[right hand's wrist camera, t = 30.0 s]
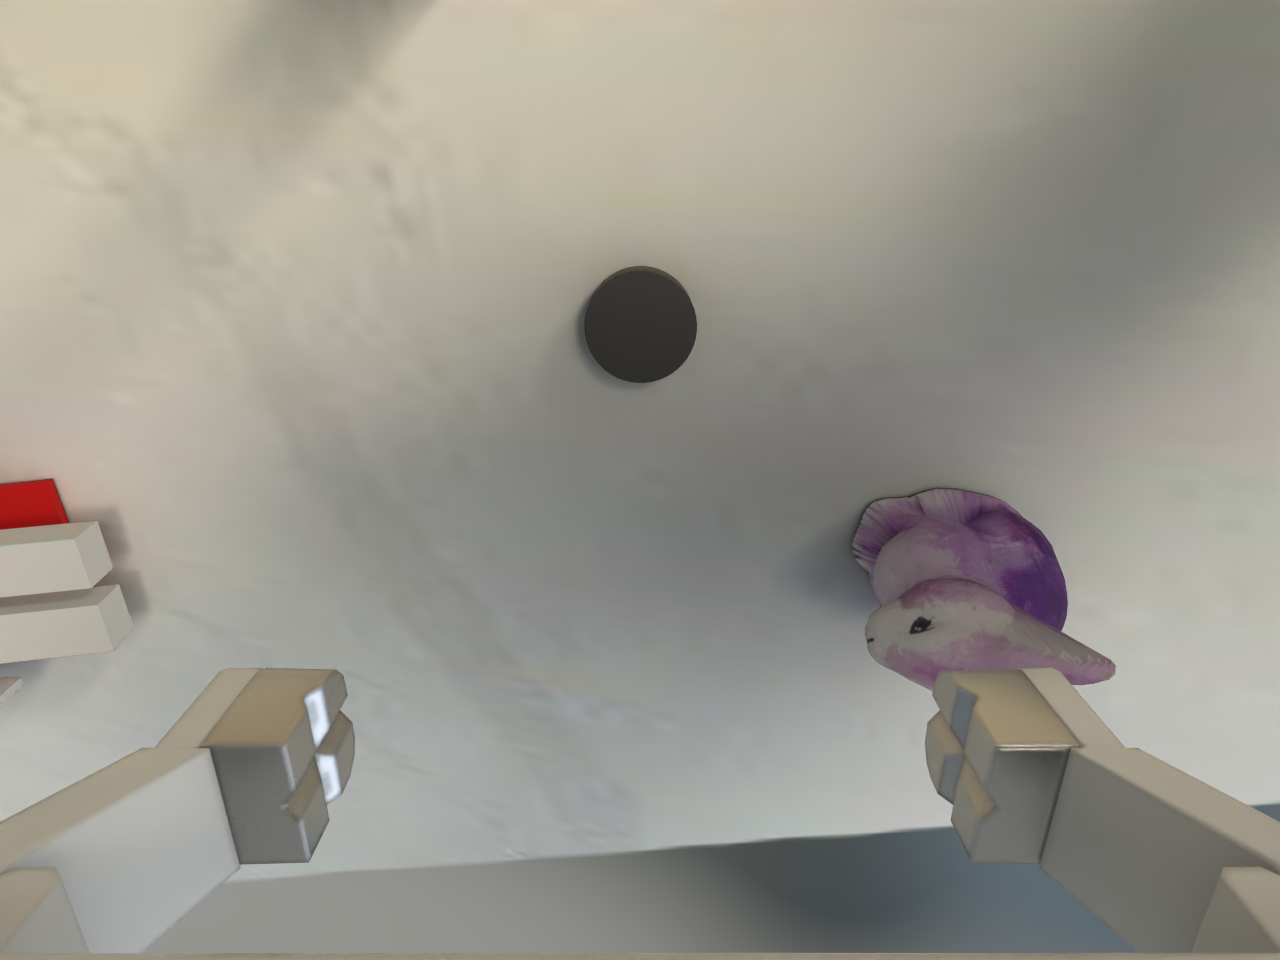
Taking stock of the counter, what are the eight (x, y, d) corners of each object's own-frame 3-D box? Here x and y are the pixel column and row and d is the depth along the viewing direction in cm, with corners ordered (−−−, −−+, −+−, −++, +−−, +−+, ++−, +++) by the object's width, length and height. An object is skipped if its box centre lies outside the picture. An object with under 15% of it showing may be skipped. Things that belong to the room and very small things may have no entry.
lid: (636, 394, 39) (636, 404, 37) (564, 316, 38) (561, 323, 36) (716, 325, 38) (719, 332, 36) (645, 242, 36) (645, 245, 35)
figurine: (808, 525, 42) (892, 703, 28) (987, 440, 40) (1173, 584, 26) (873, 653, 45) (979, 870, 31) (1043, 580, 43) (1236, 775, 29)
